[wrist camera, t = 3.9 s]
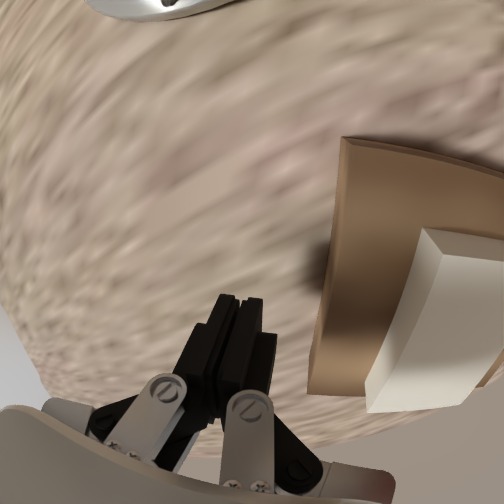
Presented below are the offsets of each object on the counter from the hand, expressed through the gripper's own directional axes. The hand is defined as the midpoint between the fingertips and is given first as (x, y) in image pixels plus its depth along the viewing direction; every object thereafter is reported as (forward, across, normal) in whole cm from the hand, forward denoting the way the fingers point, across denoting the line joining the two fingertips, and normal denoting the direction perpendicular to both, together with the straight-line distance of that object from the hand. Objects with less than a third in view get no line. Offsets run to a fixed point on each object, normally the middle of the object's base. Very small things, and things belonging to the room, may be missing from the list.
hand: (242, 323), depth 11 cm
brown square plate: (+4, -10, -1) cm, 11 cm away
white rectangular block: (+1, -9, 0) cm, 9 cm away
